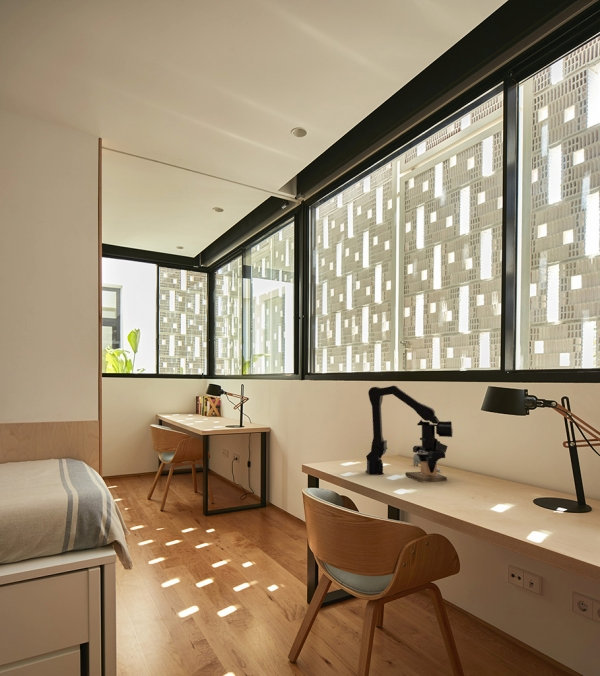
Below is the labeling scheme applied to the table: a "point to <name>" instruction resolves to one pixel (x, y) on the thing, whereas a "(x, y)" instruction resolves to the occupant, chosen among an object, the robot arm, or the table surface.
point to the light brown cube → (427, 469)
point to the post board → (425, 477)
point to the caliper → (417, 461)
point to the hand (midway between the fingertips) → (428, 471)
